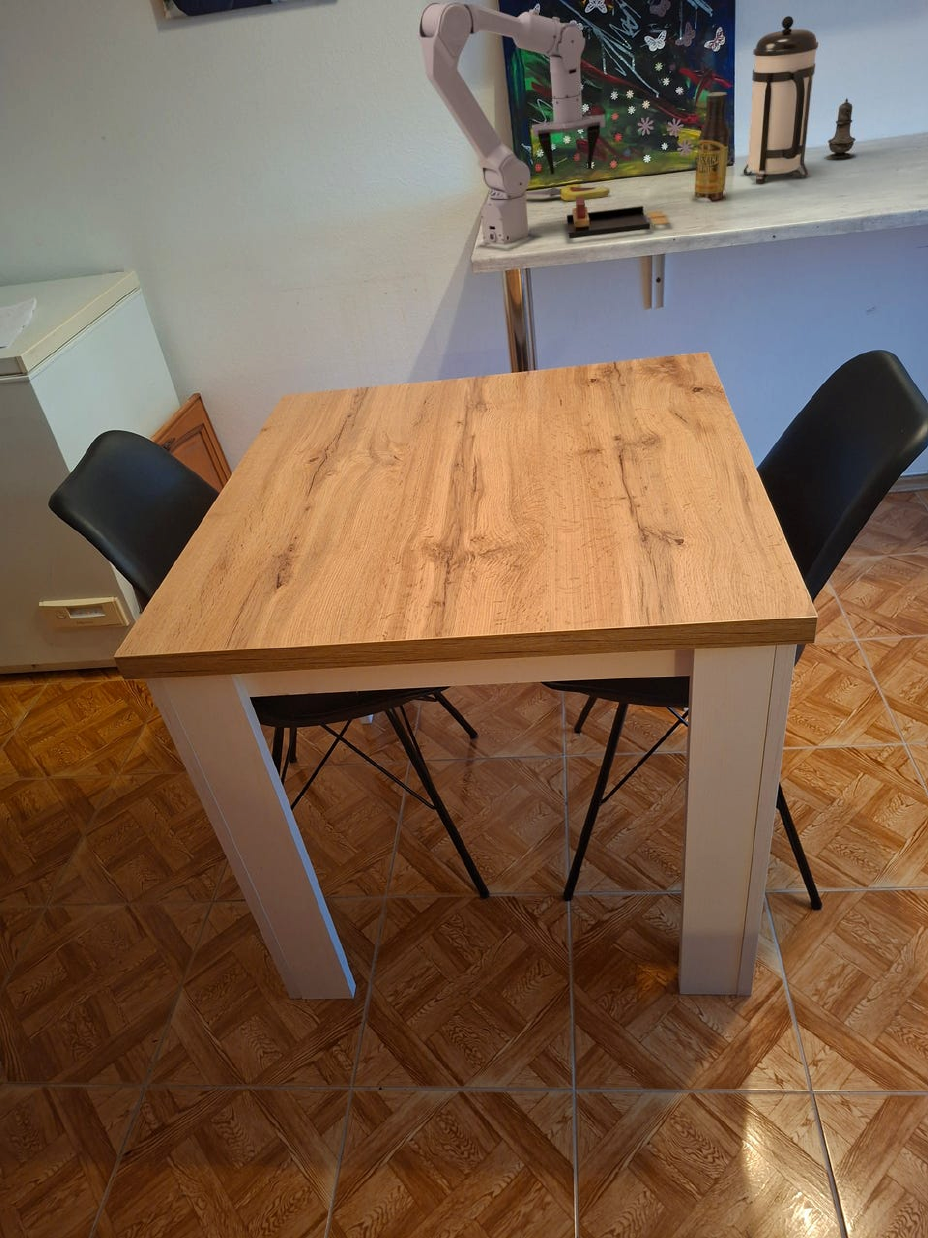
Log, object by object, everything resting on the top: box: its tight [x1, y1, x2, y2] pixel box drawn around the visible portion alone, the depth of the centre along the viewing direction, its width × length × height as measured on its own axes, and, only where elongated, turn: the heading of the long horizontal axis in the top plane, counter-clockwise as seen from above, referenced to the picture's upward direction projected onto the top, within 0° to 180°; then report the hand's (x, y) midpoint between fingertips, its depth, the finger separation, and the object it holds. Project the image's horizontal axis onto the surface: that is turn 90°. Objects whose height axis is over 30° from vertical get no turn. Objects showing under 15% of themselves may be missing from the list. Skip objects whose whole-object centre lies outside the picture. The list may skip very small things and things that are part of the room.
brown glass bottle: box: [694, 91, 730, 202], centre depth 183 cm, size 6×6×20 cm
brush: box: [571, 196, 590, 231], centre depth 179 cm, size 3×10×5 cm, turn 177°
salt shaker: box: [827, 97, 856, 161], centre depth 199 cm, size 6×6×12 cm
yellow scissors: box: [526, 184, 610, 202], centre depth 205 cm, size 8×3×25 cm
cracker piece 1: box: [647, 210, 665, 219], centre depth 181 cm, size 3×4×1 cm
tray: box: [566, 205, 651, 239], centre depth 180 cm, size 16×14×2 cm
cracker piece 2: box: [651, 216, 670, 226], centre depth 177 cm, size 3×4×1 cm
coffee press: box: [742, 15, 819, 185], centre depth 187 cm, size 17×16×30 cm
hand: (570, 170), depth 181 cm, fingers open, 7 cm apart
